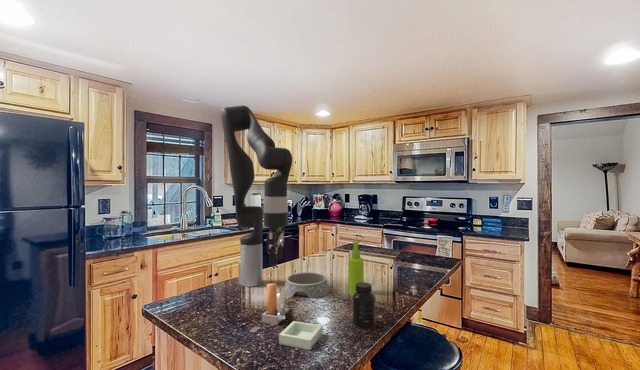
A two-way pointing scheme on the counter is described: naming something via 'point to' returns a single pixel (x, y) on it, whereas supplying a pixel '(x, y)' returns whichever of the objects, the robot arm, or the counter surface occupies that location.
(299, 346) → the tray
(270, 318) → the collar
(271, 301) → the pin
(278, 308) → the crank
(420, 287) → the counter surface
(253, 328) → the crank flange
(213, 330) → the counter surface
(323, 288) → the dog bowl
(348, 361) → the counter surface
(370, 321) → the supplement bottle
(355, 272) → the soap dispenser
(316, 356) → the counter surface
